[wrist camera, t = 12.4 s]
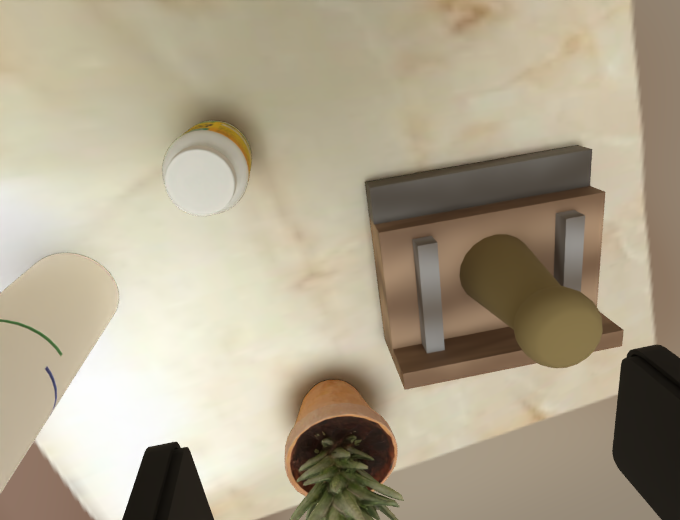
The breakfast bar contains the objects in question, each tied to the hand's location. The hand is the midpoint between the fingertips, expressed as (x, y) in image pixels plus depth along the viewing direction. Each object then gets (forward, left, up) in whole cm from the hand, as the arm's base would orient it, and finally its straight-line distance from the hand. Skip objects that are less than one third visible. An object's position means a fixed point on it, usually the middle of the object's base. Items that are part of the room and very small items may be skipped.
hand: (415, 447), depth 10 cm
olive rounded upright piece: (+10, +13, -26) cm, 31 cm away
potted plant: (+23, -2, -31) cm, 38 cm away
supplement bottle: (-2, -7, -31) cm, 31 cm away
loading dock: (+9, +13, -30) cm, 34 cm away
